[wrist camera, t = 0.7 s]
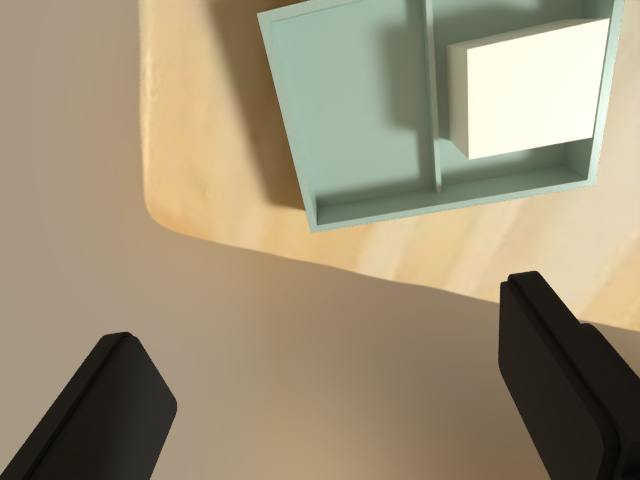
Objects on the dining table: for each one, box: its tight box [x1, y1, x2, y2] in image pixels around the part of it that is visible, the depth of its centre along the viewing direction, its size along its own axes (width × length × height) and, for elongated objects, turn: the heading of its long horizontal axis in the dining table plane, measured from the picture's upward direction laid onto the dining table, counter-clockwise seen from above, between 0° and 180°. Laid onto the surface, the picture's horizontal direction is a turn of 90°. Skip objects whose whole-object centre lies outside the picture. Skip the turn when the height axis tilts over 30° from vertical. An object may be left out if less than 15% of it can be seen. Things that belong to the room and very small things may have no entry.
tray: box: [257, 0, 625, 233], centre depth 28 cm, size 16×22×4 cm
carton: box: [446, 18, 610, 160], centre depth 26 cm, size 7×8×5 cm
